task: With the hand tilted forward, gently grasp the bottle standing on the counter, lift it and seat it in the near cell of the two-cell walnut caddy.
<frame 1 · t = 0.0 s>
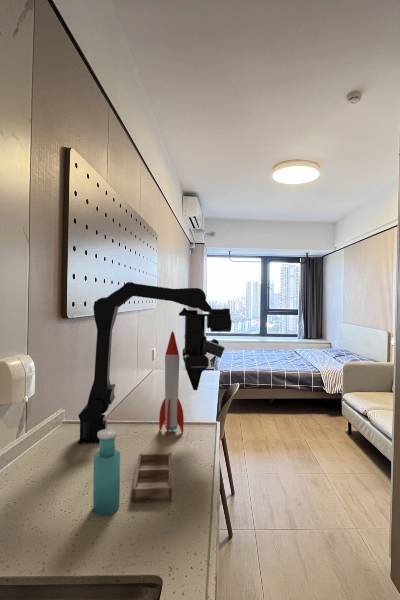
hand: (194, 385, 98), 15 cm above the counter, tool pointing down, fingers open, 9 cm apart
bottle: (106, 507, 64), on the counter
caddy: (153, 481, 74), on the counter
toy rocket: (171, 432, 101), on the counter
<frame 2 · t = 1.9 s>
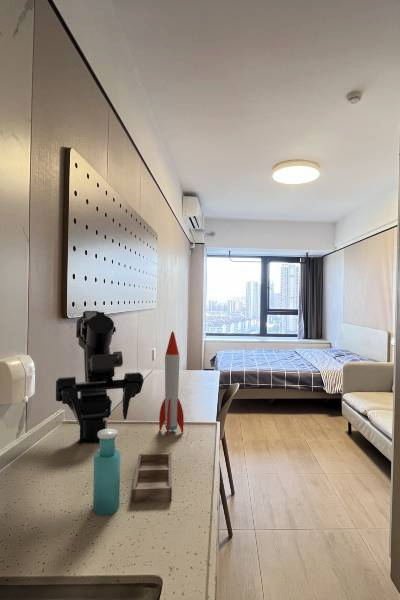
hand: (103, 421, 72), 13 cm above the counter, tool tilted 45°, fingers open, 9 cm apart
nothing on the counter moved.
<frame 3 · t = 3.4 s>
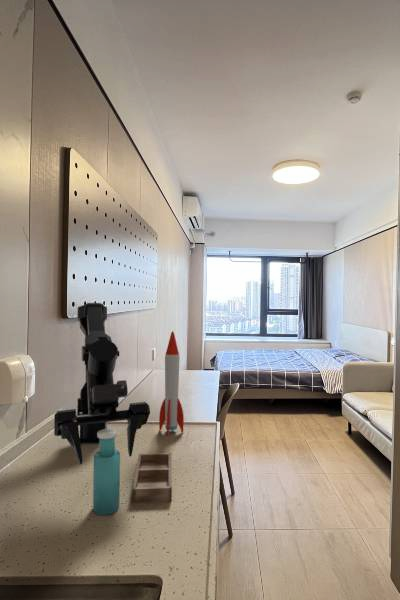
hand: (106, 459, 65), 9 cm above the counter, tool tilted 45°, fingers open, 9 cm apart
nothing on the counter moved.
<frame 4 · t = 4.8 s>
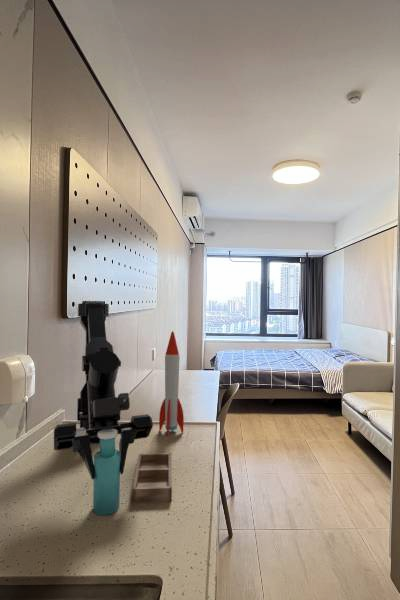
hand: (107, 476, 63), 7 cm above the counter, tool tilted 45°, fingers closed on bottle, 5 cm apart
bottle: (106, 507, 64), on the counter, touching gripper
everything else where it was.
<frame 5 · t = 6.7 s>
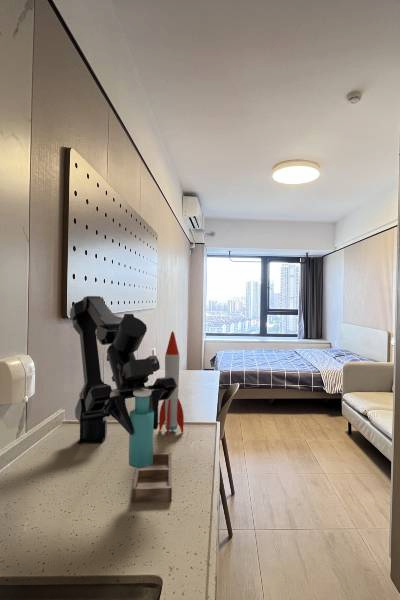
hand: (144, 431, 67), 13 cm above the counter, tool tilted 45°, fingers closed on bottle, 5 cm apart
bottle: (140, 461, 68), point 7 cm above the counter, touching gripper
everything else where it was.
when the fingers open (9 cm above the counter, at t = 8.5 s): bottle drops 1 cm, resting on caddy.
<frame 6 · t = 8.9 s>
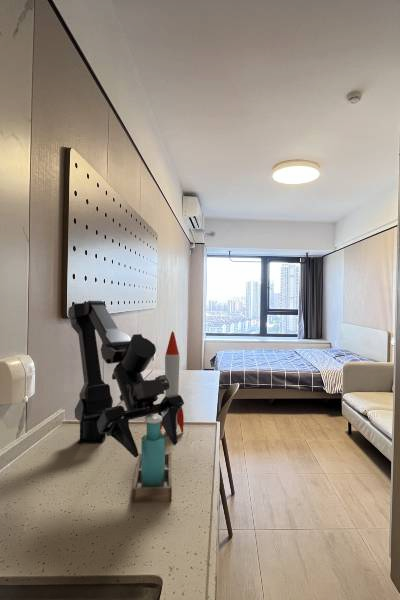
hand: (157, 450, 69), 9 cm above the counter, tool tilted 45°, fingers open, 9 cm apart
bottle: (152, 486, 70), point 1 cm above the counter, touching caddy
everything else where it was.
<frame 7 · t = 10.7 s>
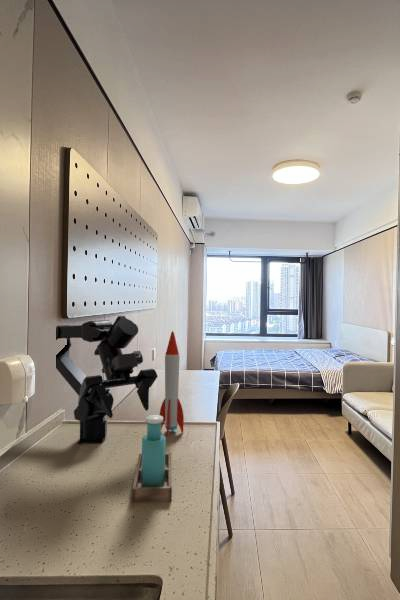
hand: (129, 413, 81), 12 cm above the counter, tool tilted 45°, fingers open, 9 cm apart
nothing on the counter moved.
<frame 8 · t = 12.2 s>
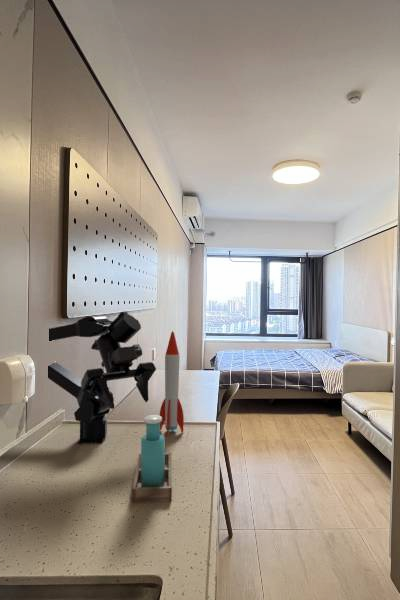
hand: (130, 404, 83), 14 cm above the counter, tool tilted 45°, fingers open, 9 cm apart
nothing on the counter moved.
at the end: bottle 0.1 cm from the target spot, point 0.8 cm above the counter; bottle tilted 1°; the gripper is holding nothing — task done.
